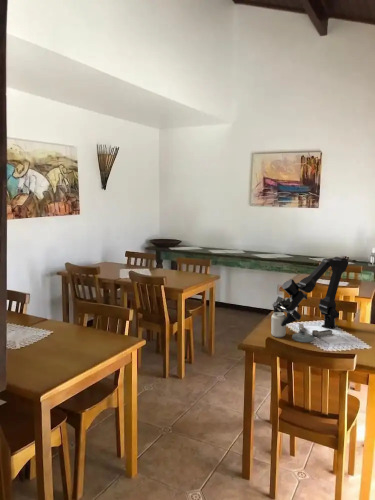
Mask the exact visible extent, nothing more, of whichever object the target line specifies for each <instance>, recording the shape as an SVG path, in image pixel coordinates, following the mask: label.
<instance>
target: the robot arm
mask: <svg viewBox="0 0 375 500" xmlns="http://www.w3.org/2000/svg"><path fill="white" fill-rule="evenodd" d="M348 266H349V261H348V259H347V258H345V257H341V256H334V257H331V258H330V257H329V258H325V257H324V258H323V259H322V260H321V262H320V263H319V264H318V265H317V266H316V267H315V268H314V270H313V271H312V272H311V273H310V274H309V275H308V276H306V277H304V278H302V279H301V280H300V281H299V282H295V280H294V279H292V278H290V279H289V280H285V282H283V284H282V286H281V287H282V289H283V290H284V291H285V292H286V293H287V294H288V296H290V297H285V298H284V297H280V296H277V298H276V301H273V303H272V308H273V313H274V312H282V313H284V312H285V313H286V318H285V320H284V321H283V322H282V324H281V326H285V325H286V326H287V325H289V324H291V323H294V322H297V321H300V320H301V318H302V315H301V314H300V312H298V311H297V310H296V309H297V308H299V307H300V303H301V302H302V301H303V300H308V293H312V292H313V291H314V289H315V288H316V286H317V285H316V284H317V281H319V280H320V278H322V277H323V275H324V274H326V272H327V271H328V270H329V268H330V267H331V272H332V273H331V277H330V280H329V282H328V283H329V284H328V287H327V289H326V294H325V297H324V298H320V300H319V304H318V306H319V307H318V310H319V311H320V314H321V315H323V317H324V319H323V322H324V323H323V324H322V325H321V328H322V327H323V328H327V329H329V330H334V329H335V328H338V325H337V324H336V319H337V318H339V317H340V313H339V311H338V310H337V309H336V307H337V303H336V296H337V293H338V288H339V285H340V281H341V279H342V278H341V277H342V274H344V272H346V270H347V268H348ZM306 293H307V294H306Z"/></svg>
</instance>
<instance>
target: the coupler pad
mask: <svg viewBox="0 0 375 500" xmlns="http://www.w3.org/2000/svg"><path fill="white" fill-rule="evenodd" d="M291 338H292V340H293V341H294V342H295V341H296V342H297V343H298V342H299V343H312V342H313V341H314V340H315V338H314V336H313V335H312V333H306V332H305V333H299V332H296V333H293V334H292V335H291Z"/></svg>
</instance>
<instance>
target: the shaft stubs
mask: <svg viewBox="0 0 375 500" xmlns="http://www.w3.org/2000/svg"><path fill="white" fill-rule="evenodd" d="M298 330H299V331H298V333H306V327H304V323H298ZM311 335H313V336H314V337H317V338H321V336H322V337H326V336H327V335H329V336H333V329H326V330H316V329H313V330H312V333H311ZM327 337H328V336H327Z"/></svg>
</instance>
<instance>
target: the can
mask: <svg viewBox="0 0 375 500" xmlns="http://www.w3.org/2000/svg"><path fill="white" fill-rule="evenodd" d="M286 317H287V315H286V314H285V313H284V312H274V311H273V313H272V315H271V319H270V322H271V323H270V324H271V330H270V331H271V336H273V337H275V338H284V337H285V336H286V334H287V333H286V329H287V325H285V326H281V324H282V322H283V321H284V320H285V318H286Z"/></svg>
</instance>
